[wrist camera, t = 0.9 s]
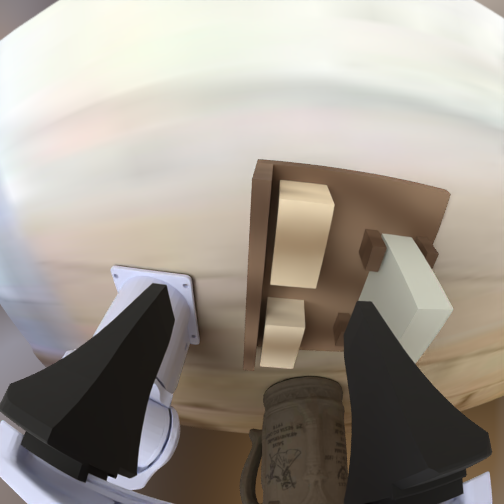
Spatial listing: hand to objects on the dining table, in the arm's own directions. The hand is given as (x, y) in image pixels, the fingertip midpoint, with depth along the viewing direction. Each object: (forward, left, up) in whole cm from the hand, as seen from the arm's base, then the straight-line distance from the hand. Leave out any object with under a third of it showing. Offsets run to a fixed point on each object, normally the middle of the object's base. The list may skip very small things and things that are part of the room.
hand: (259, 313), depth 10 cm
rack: (-6, -6, -10) cm, 13 cm away
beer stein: (-28, -6, -11) cm, 31 cm away
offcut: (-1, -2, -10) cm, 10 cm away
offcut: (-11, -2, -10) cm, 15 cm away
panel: (-6, -9, -10) cm, 15 cm away
